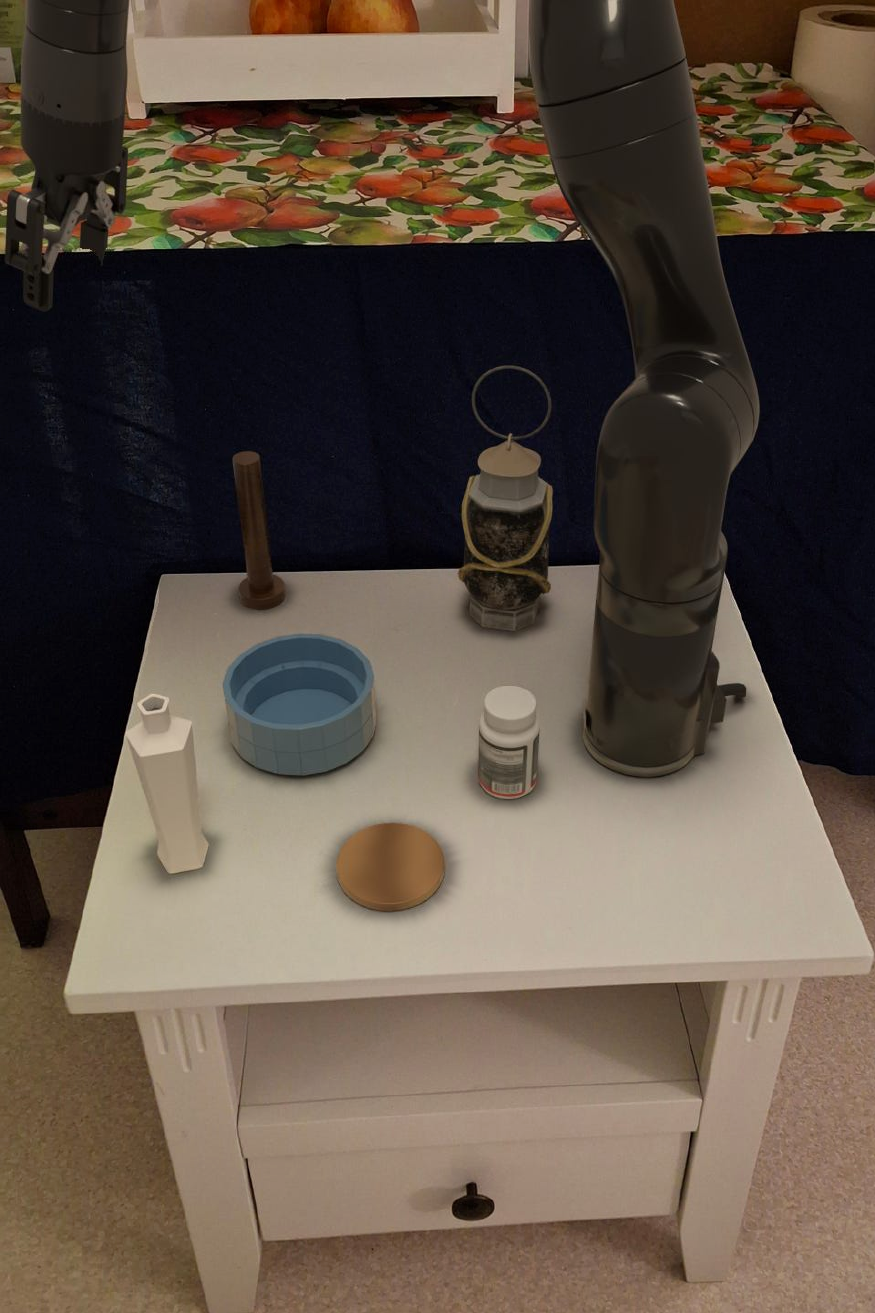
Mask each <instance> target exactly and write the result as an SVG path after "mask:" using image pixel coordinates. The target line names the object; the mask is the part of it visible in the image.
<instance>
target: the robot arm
mask: <svg viewBox="0 0 875 1313" xmlns="http://www.w3.org/2000/svg"><path fill="white" fill-rule="evenodd" d="M528 8H529V9H528V58H529V69H530V78H531V85H532V90H533V95H534V100H535V104H537V106H536V108H537V112H538V116H539V120H540V124H541V128H542V132H543V136H544V140H545V145H546V148H547V152H548V156H549V161H550V163H551V164H550V165H551V167H552V170H553V173H554V176H555V180H556V182H557V185H558V187H559V190H560V192H561V194H562V197H563V198H564V200H565V202H566V204H567V205H568V208H569V209H570V211H571V213H572V215H574V217H575V219H576V220H577V222H578V224H579V225H580V227H581V228H582V230H583V231H584V233H585V235H586V236H587V237H588V238H589V240H590V242H591V243H592V244H593V246H594V247H595V249H596V250H597V252H598V253H599V255H600V256H601V258H602V259H603V261H604V262H605V264H606V265H607V267H608V269H609V270H610V273H611V276H612V277H613V279H614V281H615V283H616V286H617V288H618V291H619V295H620V298H621V301H622V304H623V308H624V313H625V317H626V318H625V319H626V322H627V327H628V331H629V338H630V343H631V349H632V356H633V366H634V379H633V381H632V382H631V383H630V384H629V385H628V386H627V387H626V389H625V390H624V391H623V392H622V393H621V394H620V395H619V396H618V398H616V400H615V401H614V402H613V403H612V404H611V406H610V408H609V409H608V410H607V412H606V414H605V416H604V418H603V422H602V424H601V427H600V432H599V436H598V443H597V450H596V458H595V459H596V461H595V475H594V476H595V479H594V503H593V504H594V506H593V534H594V540H595V541H596V542H595V543H596V545H597V546H598V549H599V560H598V573H597V584H596V586H597V587H596V594H595V607H594V617H593V630H592V639H591V640H592V641H591V650H590V651H591V652H590V662H589V672H588V682H587V683H588V684H587V693H586V694H587V695H586V703H585V701H583V705H582V717H583V718H582V719H583V725H582V726H583V727H582V739H583V743H584V747H586V749H587V751H588V752H589V754H590V755H591V756H592V757H593V758H594V759H595V760H596V761H597V762H599V763H600V764H601V765H603V766H605V767H607V768H609V769H610V770H613V771H615V772H618V773H619V774H624V775H627V776H634V777H643V778H644V777H647V778H652V777H659V776H664V775H668V774H671V773H674V772H676V771H679V770H680V769H682V768H684V766H686V765H687V764H688V763H690V761H691V760H692V759H693V757H695V756H698V755H704V754H705V753H706V747H707V741H708V735H709V732H710V731H709V730H710V725H713V724H718V723H723V722H724V718H725V713H726V707H727V701H728V699H727V697H730V696H731V697H732V696H735V698H737V699H743V698H745V697H746V696H747V686H746V685H745V684H743V683H740V682H733V683H725V684H719V685H718V679H719V672H720V668H721V667H720V665H721V664H720V661H719V659H718V657H717V655H716V654H715V653H714V652H713V644H714V639H715V632H716V627H717V621H718V614H719V608H720V602H721V597H722V596H721V595H722V591H723V590H722V589H723V584H724V577H725V572H726V568H727V561H728V552H729V549H728V542H727V539H726V537H725V535H724V533H723V532H722V527H723V526H722V525H723V518H724V513H725V504H726V500H727V492H728V486H729V482H730V477H731V475H732V474H733V472H734V471H735V469H736V467H737V466H738V464H739V463H740V461H741V460H742V459H743V457H744V455H745V454H746V452H747V451H748V449H749V448H750V446H751V444H752V443H753V440H754V438H755V435H756V432H757V429H758V426H759V421H760V398H759V393H758V387H757V383H756V379H755V376H754V373H753V369H752V366H751V361H750V359H749V355H748V352H747V349H746V345H745V343H744V341H743V340H744V339H743V336H742V334H741V330H740V327H739V324H738V320H737V317H736V314H735V310H734V307H733V304H732V300H731V297H730V293H729V289H728V285H727V282H726V278H725V275H724V270H723V266H722V260H721V255H720V248H719V242H718V235H717V229H716V221H715V216H714V209H713V203H712V198H711V193H710V187H709V181H708V176H707V170H706V165H705V159H704V154H703V153H704V152H703V148H702V140H701V133H700V126H699V118H698V113H697V108H696V103H695V102H696V101H695V97H694V90H693V86H692V80H691V75H690V70H689V65H688V60H687V58H686V50H685V46H684V40H683V37H682V32H681V29H680V25H679V24H680V23H679V20H678V15H677V10H676V7H675V2H674V0H529V7H528ZM129 13H130V0H25V16H24V17H25V20H24V21H25V23H24V24H25V25H24V34H23V35H24V36H23V41H22V47H21V56H20V58H21V59H20V136H19V137H20V145H21V149H22V150H23V152H24V154H25V155H26V156H27V157H28V158H29V159H30V161H31V164H33V167H34V169H35V170H34V174H33V179H32V183H31V189H30V190H29V191H27V192H25V193H23V192H22V191H18V190H16V189H11V190H10V191H9V192H8V194H7V197H6V222H5V244H4V245H5V246H4V247H5V248H4V262H5V264H6V265H9V266H12V267H14V268H16V269H18V270H20V271H23V272H22V274H23V276H22V278H23V279H22V280H23V281H22V283H23V284H22V285H23V287H22V289H23V291H22V298H23V301H24V303H25V305H27V306H28V307H31V308H33V309H36V310H38V311H41V312H43V313H46V312H48V311H49V310H50V309H51V308H52V307H53V301H54V300H53V296H54V269H53V268H54V266H55V263H56V261H57V258H58V255H59V252H60V250H61V249H63V248H66V247H67V246H68V245H69V243H70V240H71V237H72V236H73V232H74V229H75V227H76V226H77V225H78V224H79V223H80V231H79V232H80V233H79V249H80V248H82V249H90V250H92V251H93V252H94V251H95V253H96V252H97V253H96V254H97V255H96V256H98V257H99V258H98V259H99V260H100V261H101V265H100V266H102V265H103V259H104V256H105V255H104V254H105V249H106V248H107V249H108V243H109V229H112V228H113V226H114V223H115V220H116V219H115V214H118V215H122V214H123V213H124V212H125V209H126V208H127V190H128V188H127V186H128V166H129V165H128V164H129V149H128V147H126V146H125V145H124V133H125V132H124V131H125V121H126V120H125V119H126V106H127V105H126V104H127V93H128V92H127V91H128V77H129V75H128V74H129V70H128V68H129V67H128V53H127V44H128V42H127V41H128V26H129ZM107 186H109V187H112V188H113V190H114V194H113V195H112V194H110V193H108V191H107V189H108V187H107ZM81 221H82V222H81ZM45 222H47V223H48V224H51V225H53V226H56V227H58V228H59V229H57V230H56V231H52V230H50V229H48V228H45V227H44V226H45ZM44 240H45V241H47V246H46V248H45V251H44V253H43V246H44ZM20 243H21V246H20ZM95 253H94V254H95Z"/></svg>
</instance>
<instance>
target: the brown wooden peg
mask: <svg viewBox="0 0 875 1313" xmlns="http://www.w3.org/2000/svg"><path fill="white" fill-rule="evenodd" d="M261 465H262V464H261V457H260V455H259V454H258V453H257V452H255V451H251V450H248V451H241V452H240V451H239V452H238V453H236V454H234V455H233V456H232V466H233V473H234V483H235V490H236V498H237V504H238V512H239V520H240V528H241V538H242V543H243V544H242V545H243V552H244V559H245V560H244V561H245V568H246V575H247V577H245V578H244V579H243V580H241V581H240V583H239V585H238V595H239V596H238V597H239V601H240V602H241V604H242V605H243V606H245V607H246V608H249V609H252V610H268V609H271V608H275V607H277V606H278V605H280V604H281V603H283V601H284V600H285V598H286V587H285V586H286V585H285V581H284V580H283V578H281V577H280V576H278V575H276V574H274V572H273V565H272V564H273V563H272V556H271V555H272V554H271V546H270V538H269V529H268V519H267V510H266V502H265V493H264V492H265V491H264V483H263V475H262V466H261Z"/></svg>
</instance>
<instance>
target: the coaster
mask: <svg viewBox="0 0 875 1313" xmlns="http://www.w3.org/2000/svg"><path fill="white" fill-rule="evenodd" d="M338 852H339V853H338V855H337V859H336V867H335V868H336V876H337V881H338V884H339V886H340V888H341V889H342V891H343V892H344V893H345V894H346V896H348V897H349V898H350V899H351V900H352V901H354V902H355V903H357V904H358V905H360V906H362V907H365V908H368V909H371V910H374V911H380V912H381V911H382V912H397V911H403V910H406V909H410V908H414V907H416V906H418V905H419V904H422V903H423V902H425V901H427V900H428V899H429V898H430V897H432V896H433V895H434V894H435V892H436V891H438V889H439V887H440V886H441V884H442V882H443V880H444V876H445V869H446V867H445V866H446V865H445V855H444V851H443V849H442V848H441V846H440V844H439V843H438V841H437V840H436V839H435V838H434V837H433V835H431V834H430V833H428V832H427V831H425V830H423V829H421V828H419V827H416V826H414V825H411V824H405V823H402V822H401V823H400V822H386V823H379V824H374V825H371V826H368V827H365V828H364V829H361V830H359V831H357V832H356V833H355V834H354V835H352V836H350V838H349V839H347V840H346V842H344V843H343V845H342V847H341V848H340V850H339V851H338Z"/></svg>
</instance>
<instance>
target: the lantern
mask: <svg viewBox="0 0 875 1313" xmlns="http://www.w3.org/2000/svg"><path fill="white" fill-rule="evenodd" d="M506 369H507V370H511V369H513V370H517V371H521V372H523V373H527V374H528V375H529V376H531V377H533V378H534V379H535V380H536V381H537V382H538V383H539V384H540V386H541V387H542V388H543V390H544V392H545V394H546V398H547V413H546V416H545V418H544V420H543V422H542V423H541V425H540V426H539V427H538V428H537V429H535V430H533V431H532V432H530V433H528V434H525V435H521V436H514V435H513V433H509V434H508V435H504V434H500V433H498V432H496V431H494V430H493V429H491V428H489V426H488V425H486V424H485V423H484V421H483V420H482V419H481V417H480V415H479V413H478V411H477V408H476V401H475V400H476V393H477V389H478V387H479V385H480V384H481V382H482V381H483V380H484V379H485V378H486V377H487V376H488V375H490V374H492V373H495V372H497V371H500V370H506ZM471 406H472V411H473V413H474V416H475V418H476V419H477V422H479V424H480V425H481V427H483V428H484V429H485V430H486V431H487V432H489V433H490V434H492V435H494V436H496V437H498V438H501V439H505V441H504V442H502V443H500V444H498V445H496V446H492V447H489V448H487V449H484V450H483V451H482V452H481V453H480V454H479V457H478V459H477V466H478V467H479V469H480V474H477V475H471V476H470V477H469V479H468V482H467V486H466V489H465V492H464V496H463V499H462V504H461V521H462V527H463V532H464V547H463V548H464V553H463V556H464V557H463V566H462V567H460V568H459V570H458V573H457V575H458V576H457V577H458V580H459V581H461V582H462V583H464V586H465V588H466V590H467V591H468V593H469V594H470V595H469V598H470V602H469V616H470V617H471V618H473V620H474V621H476V623H478V625H480V626H481V627H482V628H489V629H496V630H503V631H510V632H517V631H519V630H521V629H523V628H526V627H528V626H530V625H531V626H532V625H533V624H534V623H535V621H536V618H537V614H538V611H539V607H540V596H541V595H545V594H549V593H550V591H551V589H552V588H551V587H552V585H551V583H550V581H549V579H548V578H549V554H550V553H549V551H550V549H549V548H550V524H551V520H552V517H553V492H554V490H553V486H552V485H550V484H549V483H548V482H546V481H545V480H543V479H542V478H540V476H539V471H538V470H539V469H540V466H541V462H542V459H541V456H540V454H539V453H537V451H534V450H532V449H530V448H526V447H523V446H522V445H521V444H519V443H518V442H516V441H518V440H524V439H527V438H531V437H533V436H535V435H536V434H537V433H540V431H541V430H542V429H544V427H545V426H546V424H547V423H548V421H549V418H550V416H551V413H552V412H551V411H552V399H551V395H550V392H549V390H548V387H547V386H546V384H545V383H544V382H543V380H542V379H541V378H540V377H539V376H538V375H536V373H533V372H532V371H531V370H529V369H527V368H524V367H521V366H516V365H501V366H496V367H494V368H492V369H489V370H487V372H485V373H484V374H482V375H481V376H480V377H479V379H478V380H477V381H476V383H475V384H474V387H473V390H472V392H471Z"/></svg>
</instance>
